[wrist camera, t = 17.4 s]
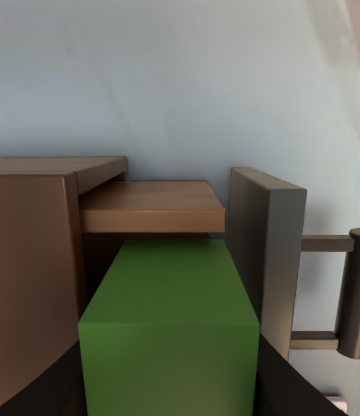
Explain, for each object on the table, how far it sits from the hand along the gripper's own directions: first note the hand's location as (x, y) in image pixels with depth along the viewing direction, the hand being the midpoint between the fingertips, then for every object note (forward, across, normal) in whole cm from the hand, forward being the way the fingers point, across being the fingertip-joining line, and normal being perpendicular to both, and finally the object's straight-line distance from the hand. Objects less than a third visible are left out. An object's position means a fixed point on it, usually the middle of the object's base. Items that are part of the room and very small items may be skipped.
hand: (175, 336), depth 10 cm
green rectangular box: (+1, 0, 0) cm, 1 cm away
